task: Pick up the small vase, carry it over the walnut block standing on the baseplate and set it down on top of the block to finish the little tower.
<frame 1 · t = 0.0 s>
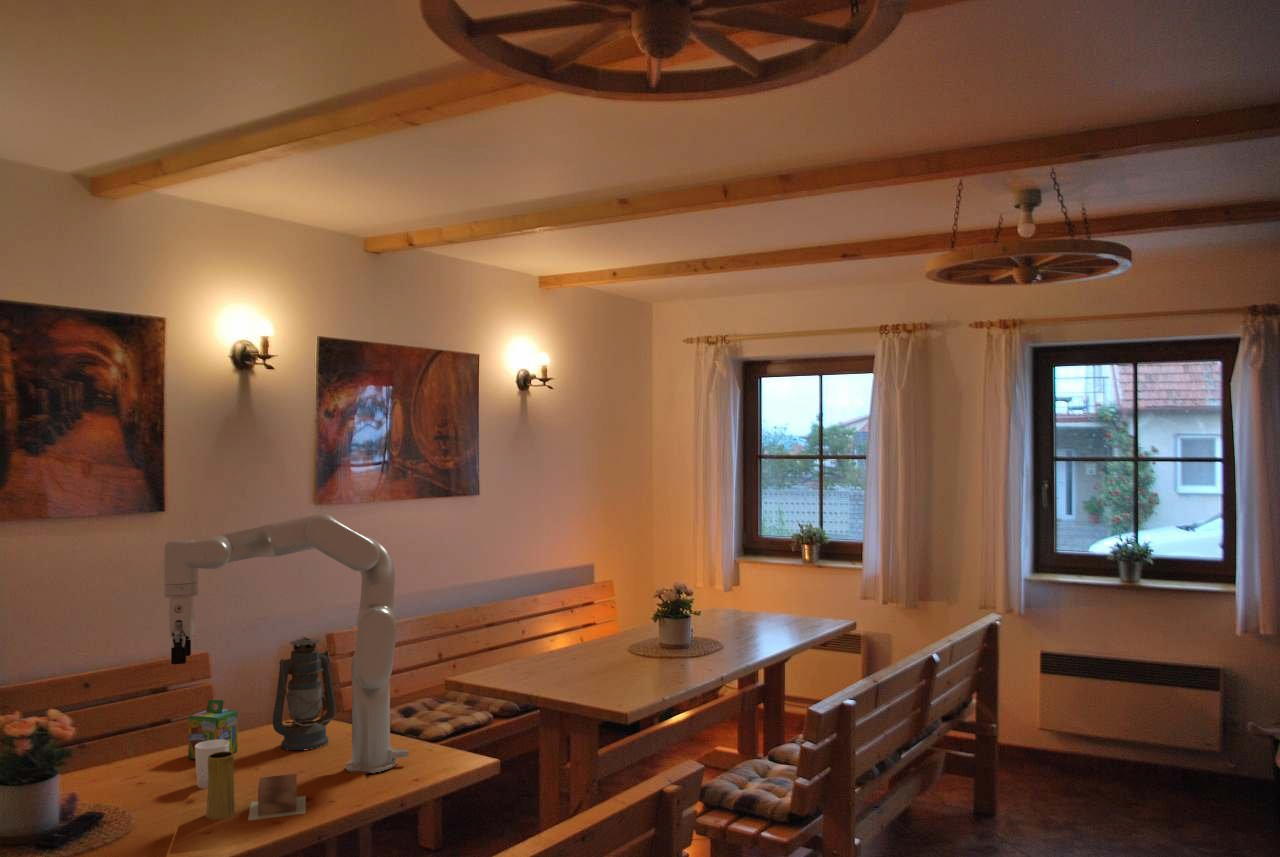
hand: (181, 659, 242), 31 cm above the table, tool pointing down, fingers open, 9 cm apart
walnut block: (277, 807, 224), point 1 cm above the table, touching baseplate
vase: (220, 819, 220), on the table
white cup: (212, 785, 243), on the table
lantern: (306, 745, 276), on the table
baseplate: (277, 812, 224), on the table
chalk box: (213, 756, 267), on the table
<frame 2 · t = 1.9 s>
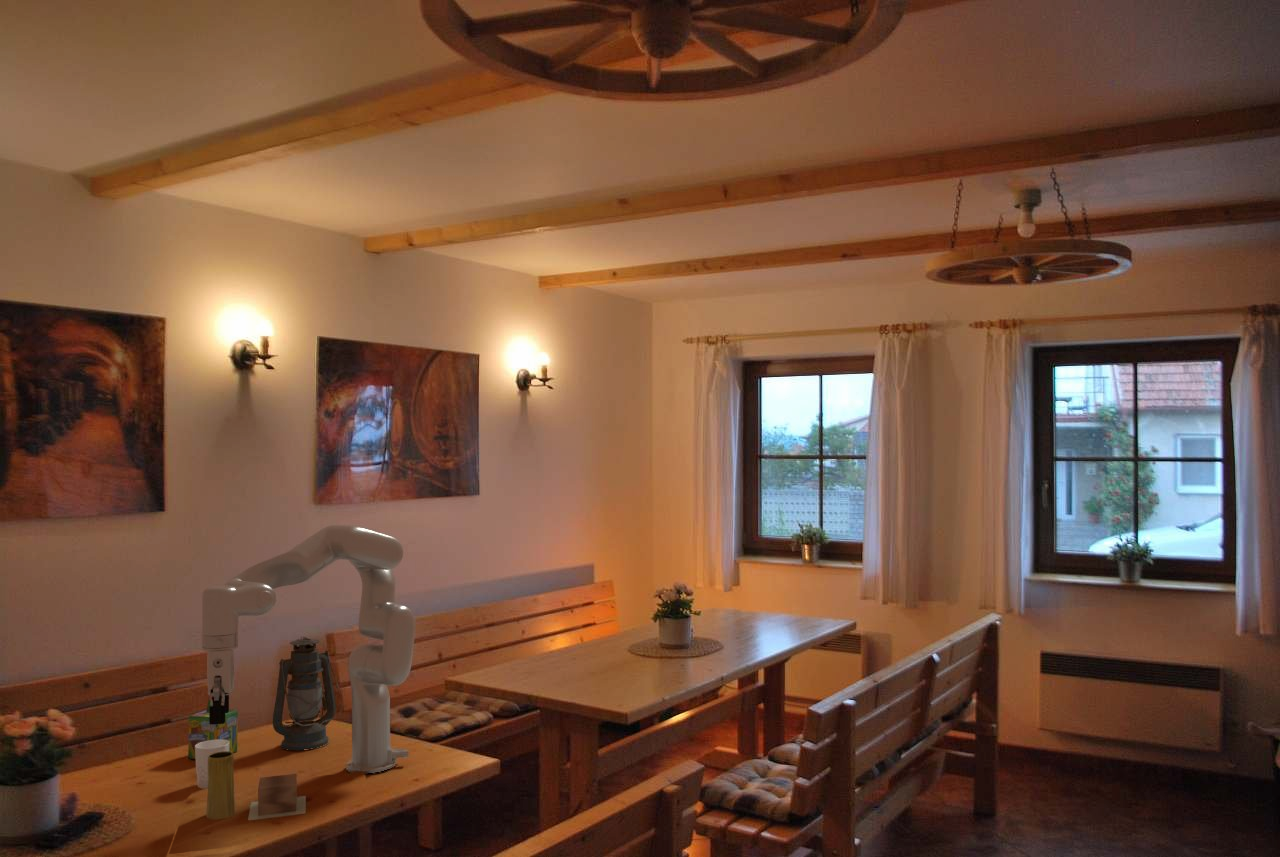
hand: (219, 718, 220), 22 cm above the table, tool pointing down, fingers open, 9 cm apart
nothing on the table moved.
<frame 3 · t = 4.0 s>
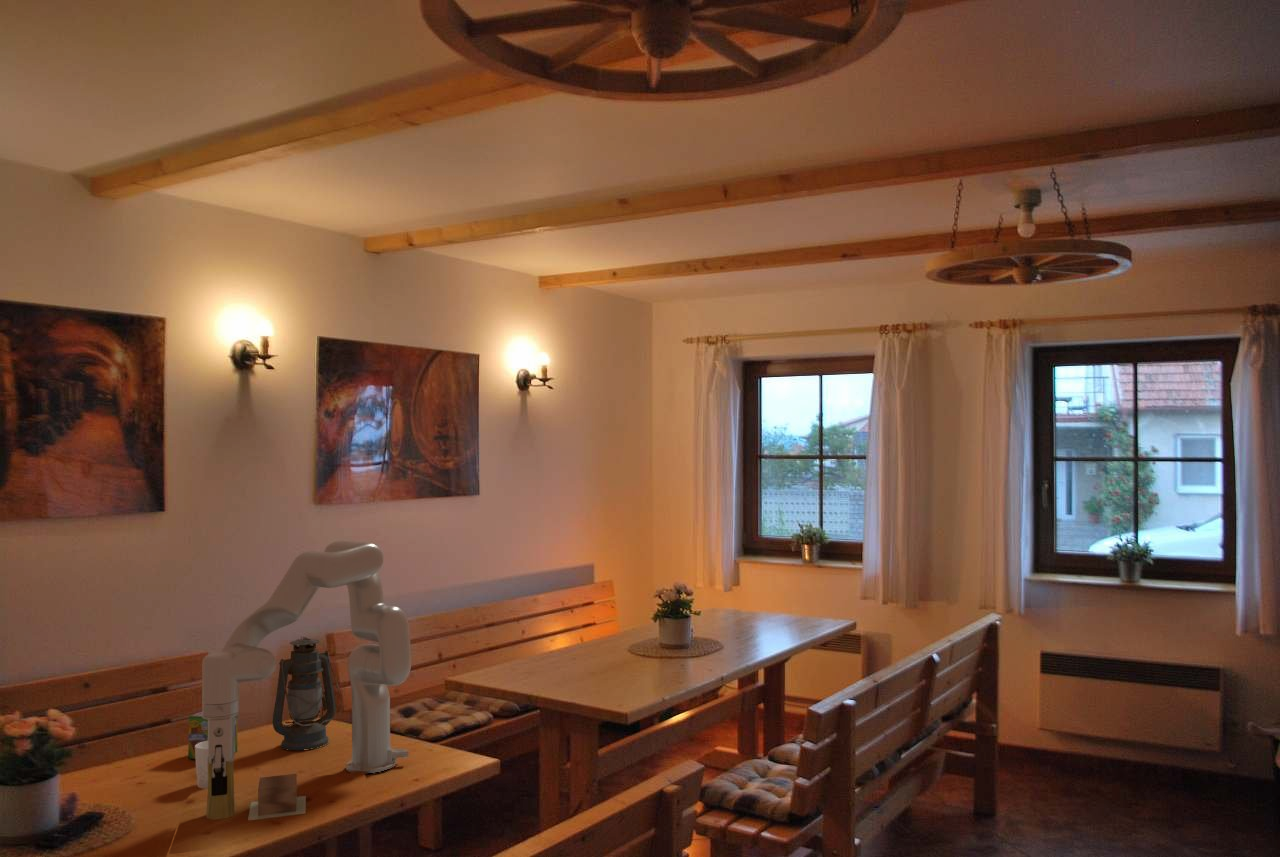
hand: (220, 789, 220), 6 cm above the table, tool pointing down, fingers closed on vase, 5 cm apart
vase: (220, 819, 220), on the table, touching gripper
everything else where it was.
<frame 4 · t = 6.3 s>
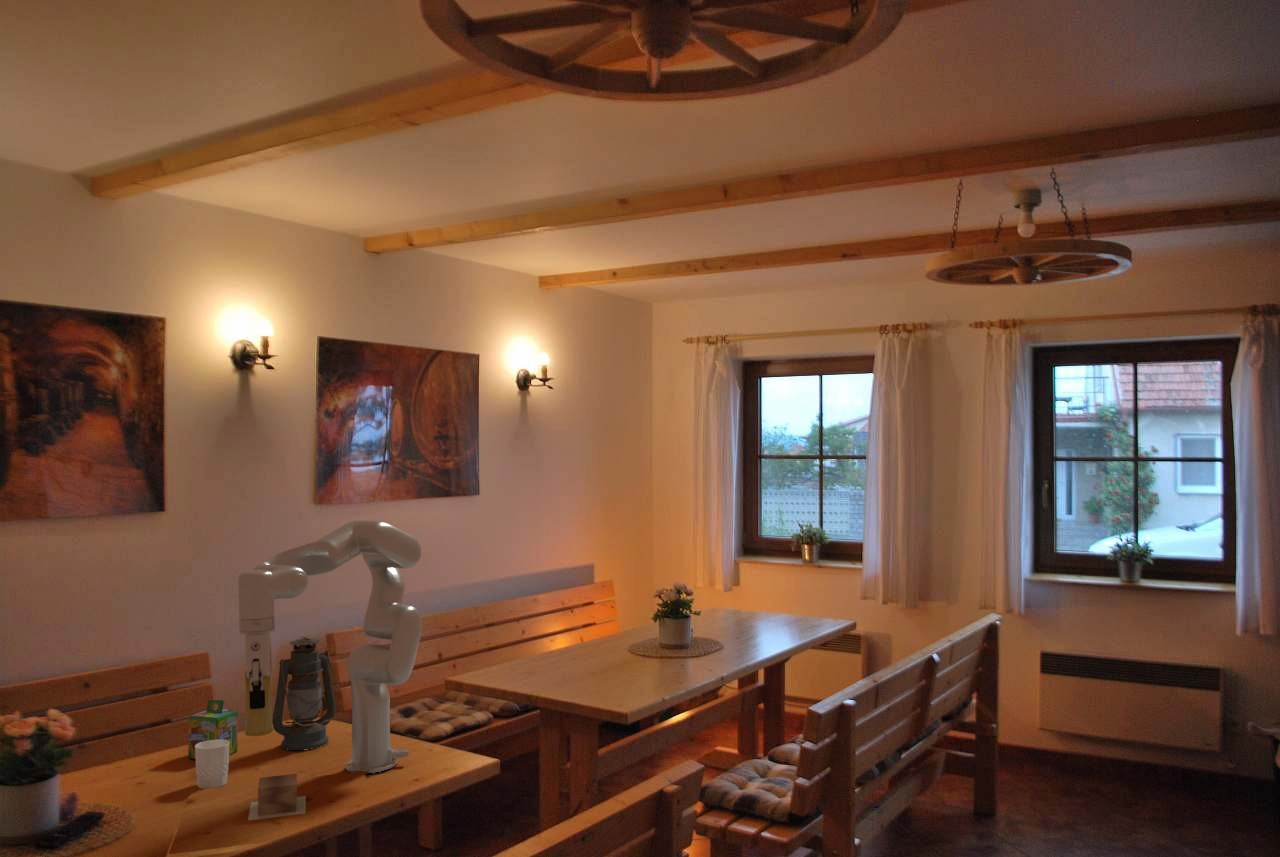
hand: (258, 703, 223), 25 cm above the table, tool pointing down, fingers closed on vase, 5 cm apart
vase: (258, 733, 223), point 18 cm above the table, touching gripper
everything else where it was.
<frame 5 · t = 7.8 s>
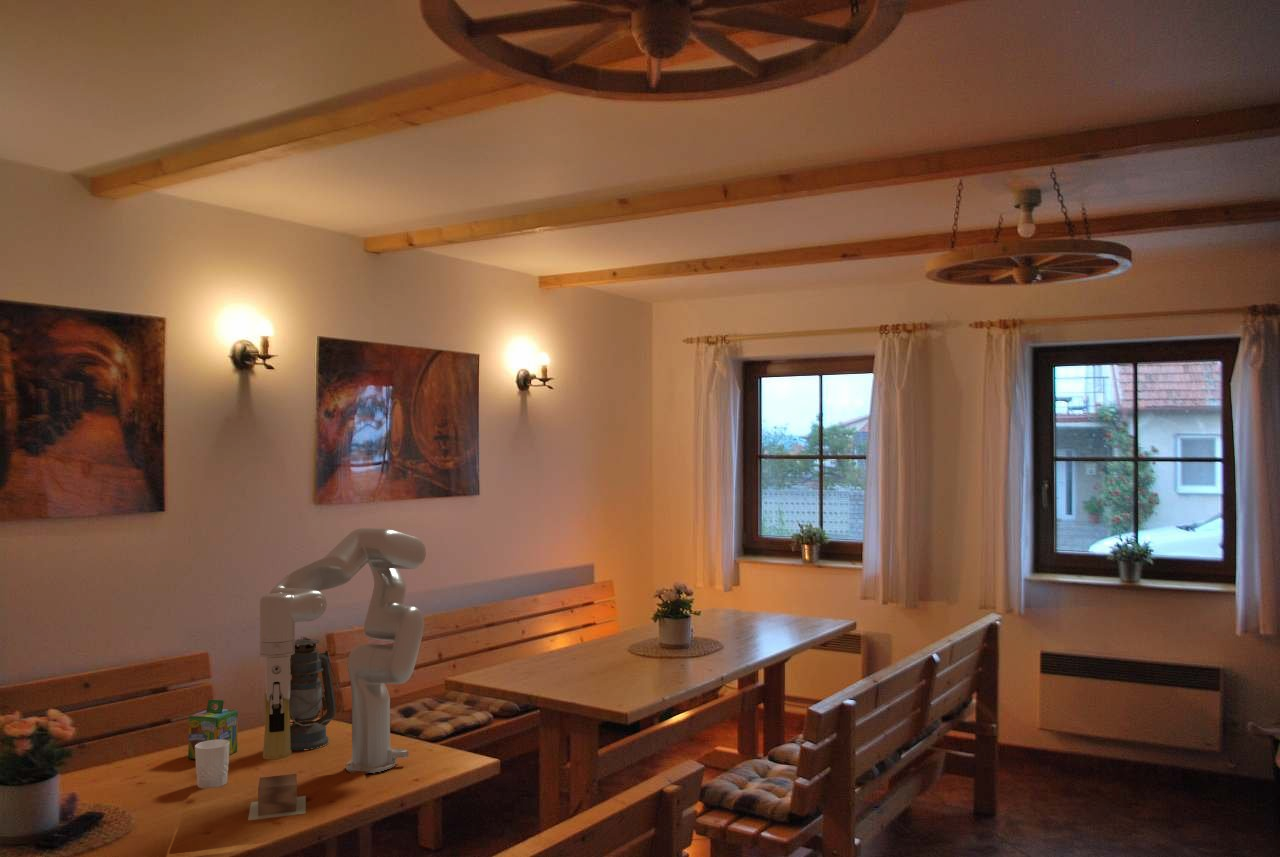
hand: (277, 727, 224), 19 cm above the table, tool pointing down, fingers closed on vase, 5 cm apart
vase: (277, 756, 224), point 13 cm above the table, touching gripper
everything else where it was.
when the fingers open (14 cm above the table, at t = 9.1 s): vase moves 1 cm, resting on walnut block.
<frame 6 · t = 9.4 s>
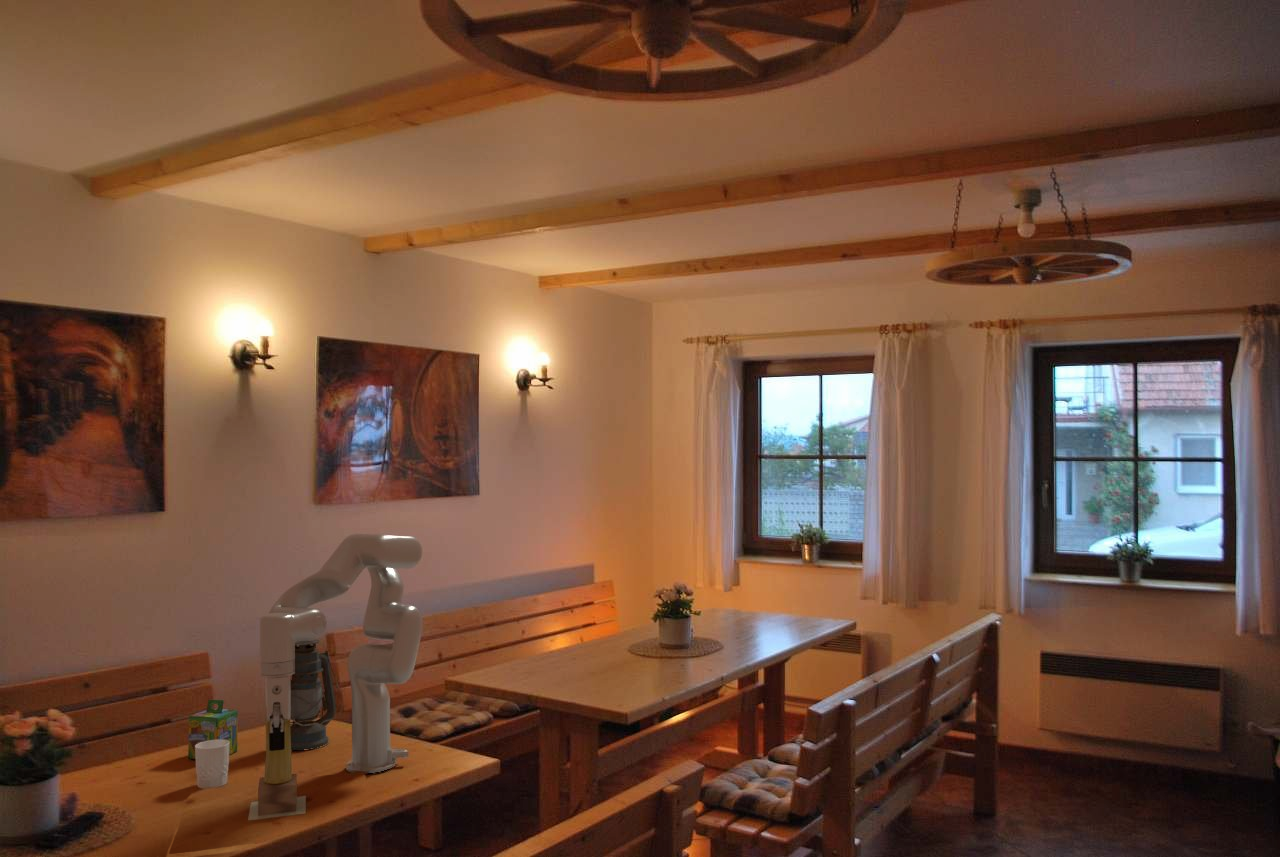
hand: (277, 744, 224), 15 cm above the table, tool pointing down, fingers open, 8 cm apart
walnut block: (277, 807, 224), point 1 cm above the table, touching baseplate, vase
vase: (278, 781, 224), point 7 cm above the table, touching walnut block
everything else where it was.
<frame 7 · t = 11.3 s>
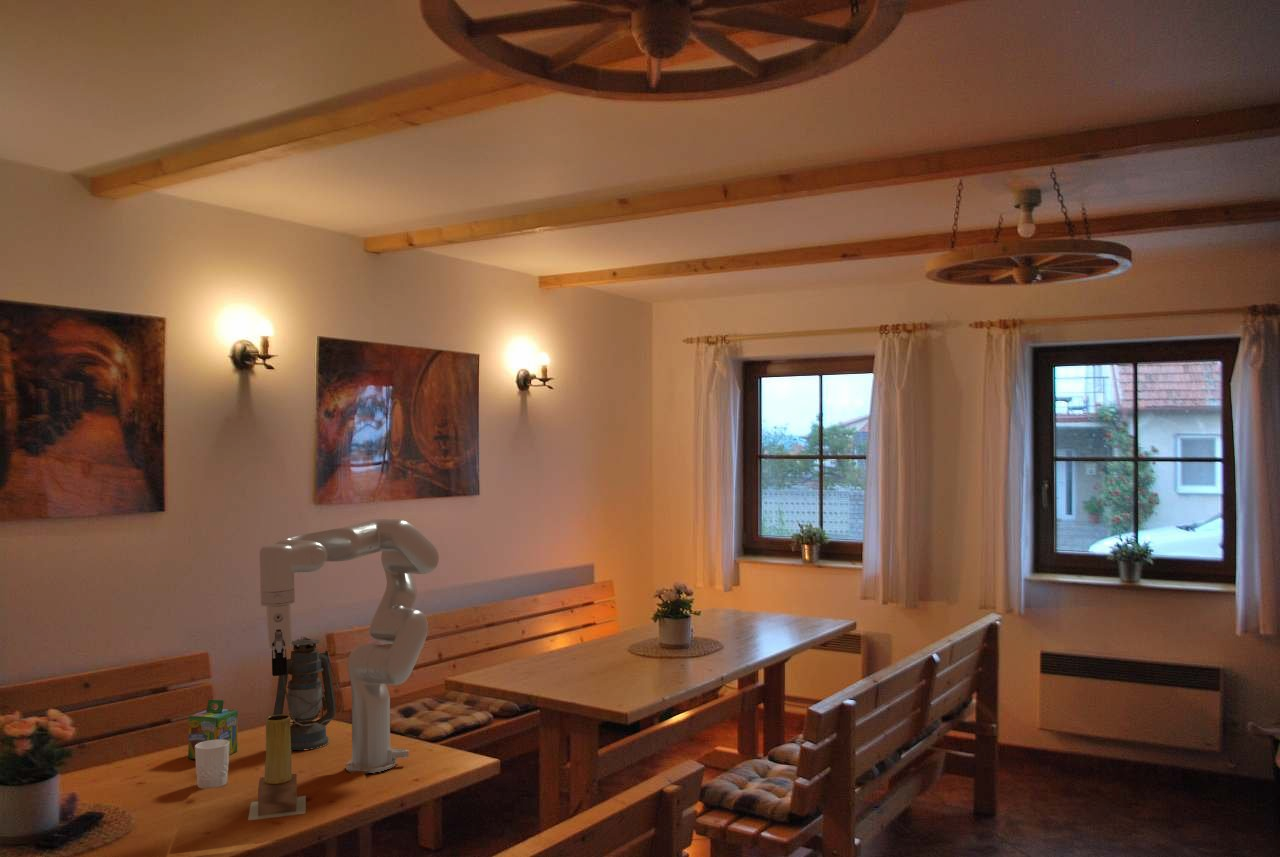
hand: (279, 670, 230), 31 cm above the table, tool pointing down, fingers open, 9 cm apart
nothing on the table moved.
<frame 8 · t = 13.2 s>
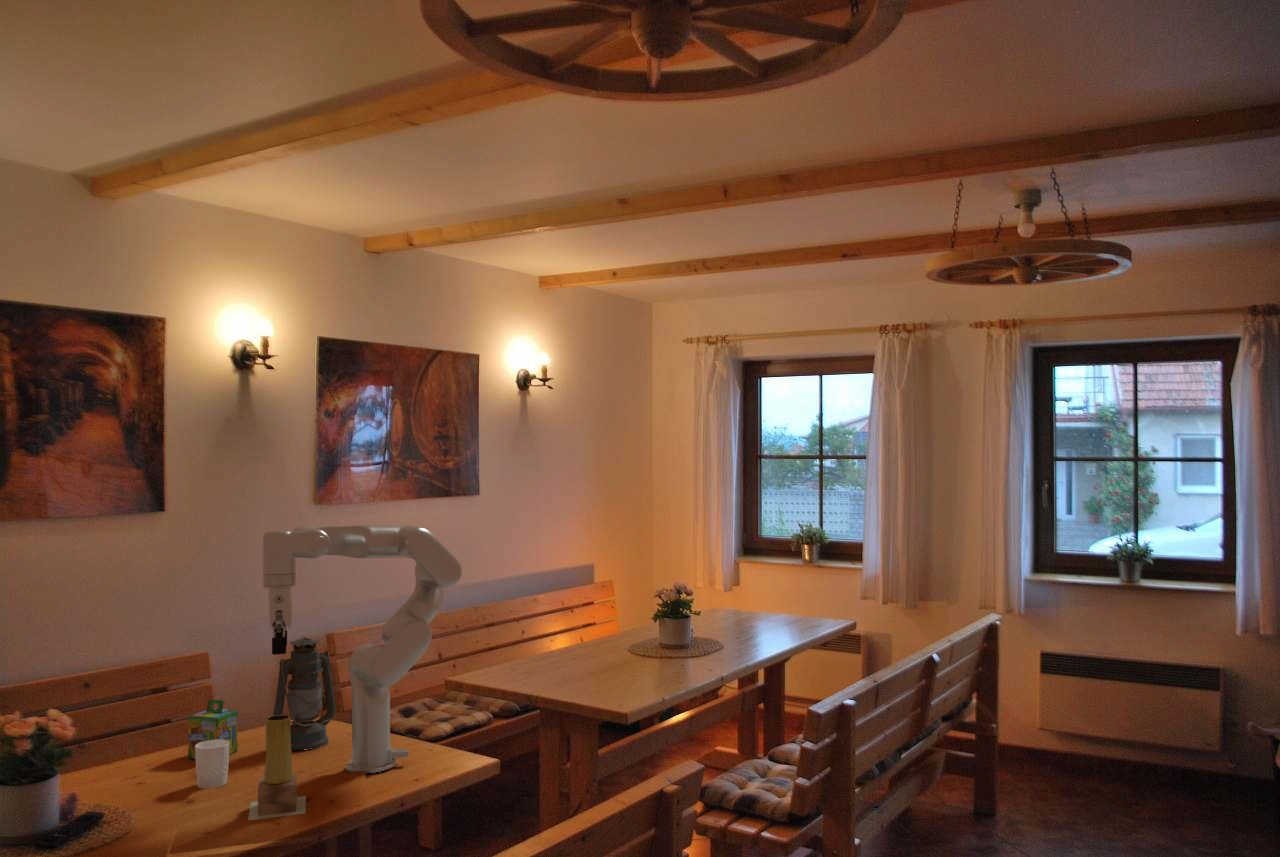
hand: (279, 650, 242), 33 cm above the table, tool pointing down, fingers open, 9 cm apart
nothing on the table moved.
at the end: vase inside the target area on the walnut block (0.4 cm from its centre), point 5.8 cm above the walnut block's base; vase tilted 0°; the gripper is holding nothing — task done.
